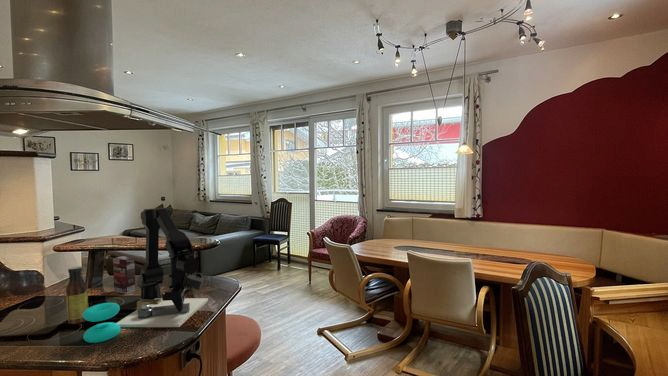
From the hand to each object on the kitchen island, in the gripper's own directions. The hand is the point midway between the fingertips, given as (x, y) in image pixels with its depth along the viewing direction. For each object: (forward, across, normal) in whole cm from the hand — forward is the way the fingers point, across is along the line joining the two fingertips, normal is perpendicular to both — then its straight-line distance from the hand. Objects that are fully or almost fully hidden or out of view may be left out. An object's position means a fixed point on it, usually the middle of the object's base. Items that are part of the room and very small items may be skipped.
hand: (180, 311), depth 123 cm
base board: (+2, +5, +7) cm, 9 cm away
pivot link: (+1, +2, +6) cm, 6 cm away
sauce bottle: (+2, +3, +36) cm, 36 cm away
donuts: (+2, -12, +21) cm, 24 cm away
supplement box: (+1, +35, +35) cm, 49 cm away
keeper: (+1, +6, +13) cm, 14 cm away
